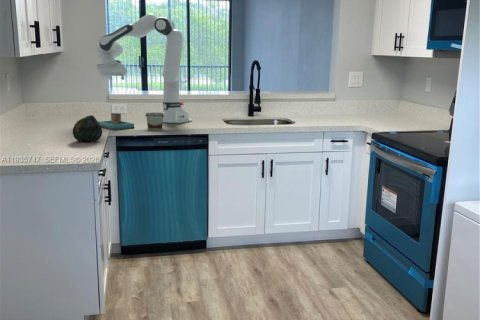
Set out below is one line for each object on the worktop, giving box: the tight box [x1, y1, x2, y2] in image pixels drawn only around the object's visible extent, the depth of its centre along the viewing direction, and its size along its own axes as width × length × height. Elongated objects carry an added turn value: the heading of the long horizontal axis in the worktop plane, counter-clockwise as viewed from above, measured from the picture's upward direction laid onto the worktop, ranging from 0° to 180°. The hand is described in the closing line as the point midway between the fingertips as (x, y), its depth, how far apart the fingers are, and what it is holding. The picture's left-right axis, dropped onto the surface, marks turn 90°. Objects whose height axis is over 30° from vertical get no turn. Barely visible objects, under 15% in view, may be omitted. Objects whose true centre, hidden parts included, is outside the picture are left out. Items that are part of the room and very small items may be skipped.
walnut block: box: [110, 112, 122, 125], centre depth 299 cm, size 4×4×8 cm
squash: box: [72, 115, 103, 142], centre depth 250 cm, size 14×15×15 cm
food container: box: [145, 111, 164, 130], centre depth 299 cm, size 12×6×10 cm, turn 84°
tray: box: [98, 119, 135, 131], centre depth 300 cm, size 14×20×3 cm
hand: (117, 79), depth 317 cm, fingers open, 8 cm apart
